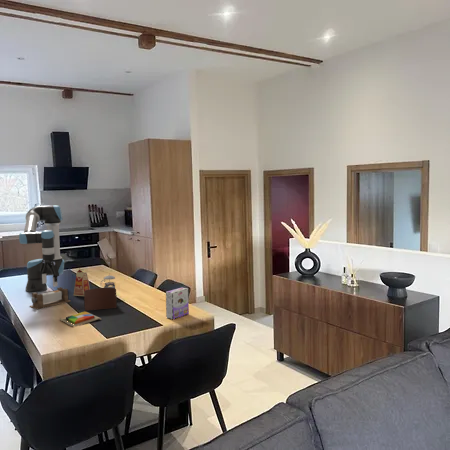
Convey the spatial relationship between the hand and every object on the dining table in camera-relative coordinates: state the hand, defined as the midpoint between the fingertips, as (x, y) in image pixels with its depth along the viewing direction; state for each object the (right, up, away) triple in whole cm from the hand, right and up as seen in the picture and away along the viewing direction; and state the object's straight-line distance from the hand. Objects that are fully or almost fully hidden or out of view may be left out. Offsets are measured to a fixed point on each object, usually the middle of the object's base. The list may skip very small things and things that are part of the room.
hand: (49, 284), depth 288 cm
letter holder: (+36, -14, -8) cm, 40 cm away
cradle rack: (0, -13, +1) cm, 13 cm away
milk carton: (+13, -11, +26) cm, 31 cm away
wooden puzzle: (+32, -17, -34) cm, 50 cm away
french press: (+34, -11, +20) cm, 41 cm away
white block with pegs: (0, -11, 0) cm, 11 cm away
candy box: (+89, -15, -28) cm, 95 cm away
